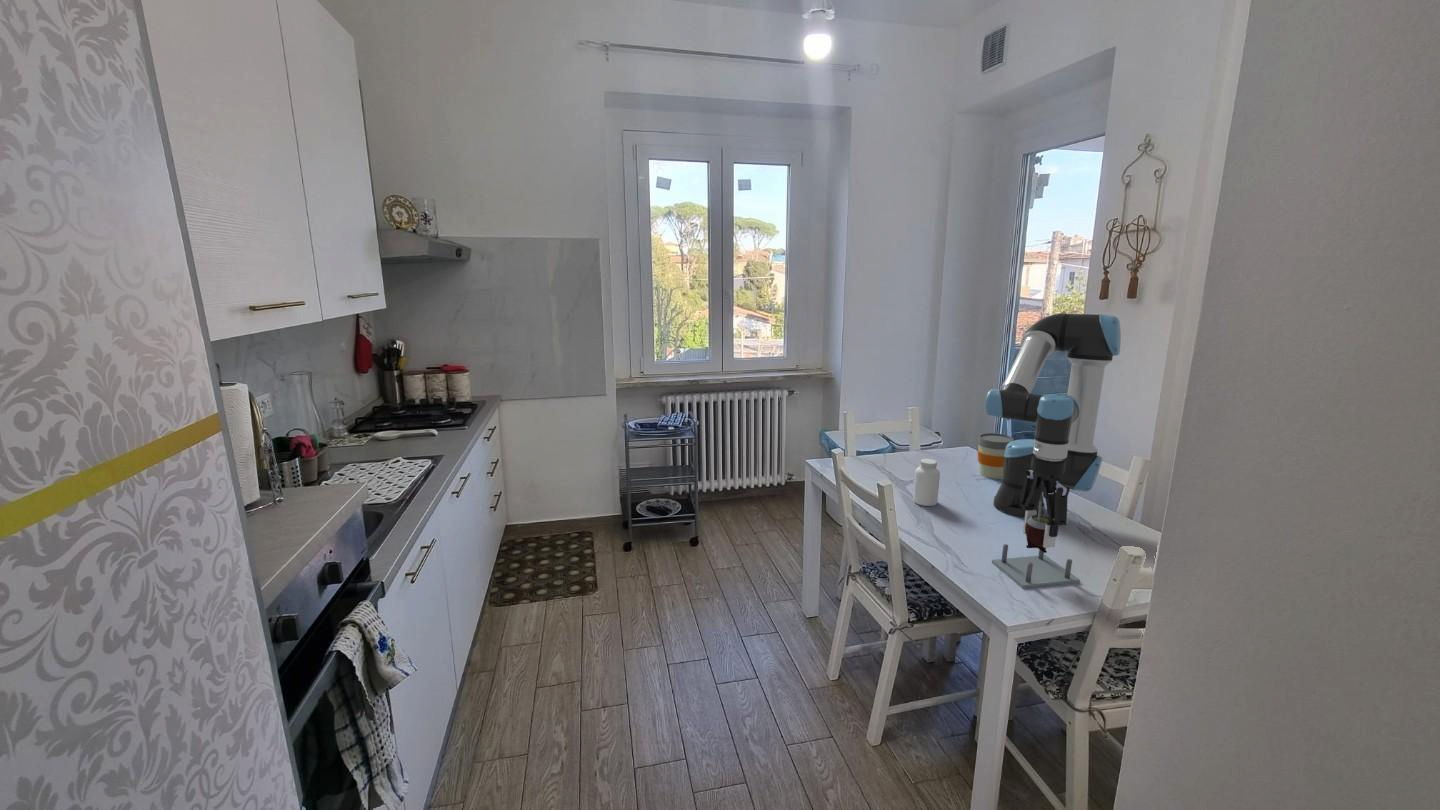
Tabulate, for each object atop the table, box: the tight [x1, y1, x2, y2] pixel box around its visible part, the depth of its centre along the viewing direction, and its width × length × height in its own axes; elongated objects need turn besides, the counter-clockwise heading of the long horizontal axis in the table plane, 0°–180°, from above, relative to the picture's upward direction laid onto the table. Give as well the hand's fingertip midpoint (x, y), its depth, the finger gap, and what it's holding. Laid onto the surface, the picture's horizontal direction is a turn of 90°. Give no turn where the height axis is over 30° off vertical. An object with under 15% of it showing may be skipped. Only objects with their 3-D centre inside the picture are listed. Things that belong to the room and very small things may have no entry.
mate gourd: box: [1025, 501, 1049, 554], centre depth 149 cm, size 8×8×15 cm
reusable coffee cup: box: [977, 432, 1015, 480], centre depth 220 cm, size 12×13×15 cm
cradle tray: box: [991, 543, 1081, 589], centre depth 152 cm, size 16×13×6 cm
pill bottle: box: [912, 458, 941, 507], centre depth 196 cm, size 8×8×15 cm
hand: (1038, 539), depth 150 cm, fingers closed on mate gourd, 7 cm apart
